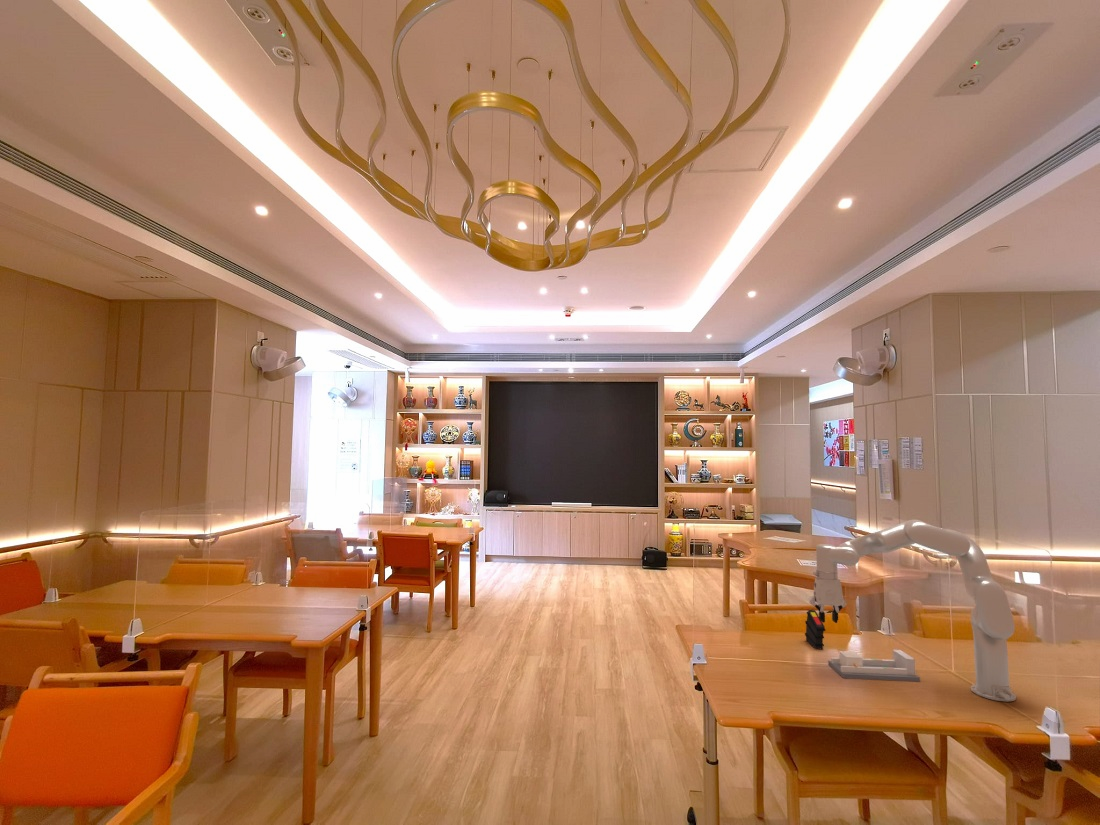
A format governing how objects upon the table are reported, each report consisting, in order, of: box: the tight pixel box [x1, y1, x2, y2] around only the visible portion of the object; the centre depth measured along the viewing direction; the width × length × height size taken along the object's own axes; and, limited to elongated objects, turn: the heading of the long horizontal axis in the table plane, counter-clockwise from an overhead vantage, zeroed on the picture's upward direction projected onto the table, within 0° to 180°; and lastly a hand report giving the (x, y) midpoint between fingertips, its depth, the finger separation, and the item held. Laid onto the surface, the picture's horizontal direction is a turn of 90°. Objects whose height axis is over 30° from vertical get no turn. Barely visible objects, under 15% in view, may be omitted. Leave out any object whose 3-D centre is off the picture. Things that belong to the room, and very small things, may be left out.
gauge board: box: [827, 649, 921, 682], centre depth 216 cm, size 14×28×8 cm, turn 84°
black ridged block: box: [804, 609, 826, 650], centre depth 247 cm, size 4×13×15 cm, turn 177°
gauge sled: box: [838, 650, 864, 667], centre depth 217 cm, size 11×6×5 cm, turn 174°
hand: (828, 621), depth 219 cm, fingers open, 4 cm apart
